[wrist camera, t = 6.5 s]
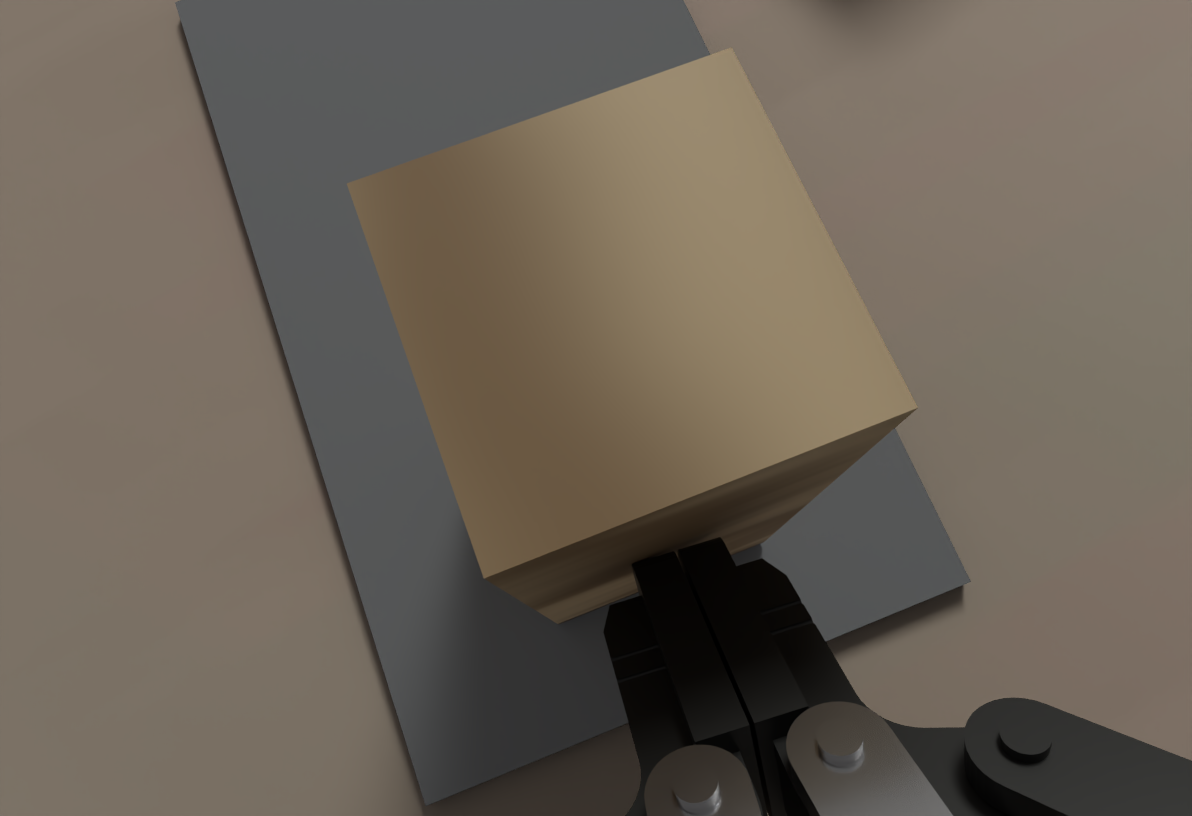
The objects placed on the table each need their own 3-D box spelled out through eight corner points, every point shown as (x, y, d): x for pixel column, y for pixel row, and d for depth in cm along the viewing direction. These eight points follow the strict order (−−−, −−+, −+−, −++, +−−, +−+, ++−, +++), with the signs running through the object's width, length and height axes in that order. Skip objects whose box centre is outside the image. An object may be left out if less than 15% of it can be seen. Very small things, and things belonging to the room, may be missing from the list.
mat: (612, -131, 26) (612, -143, 25) (963, 582, 20) (970, 581, 20) (182, 12, 25) (175, 2, 24) (429, 803, 19) (425, 806, 19)
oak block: (678, 350, 21) (731, 47, 11) (763, 542, 20) (917, 408, 10) (485, 423, 21) (346, 182, 11) (558, 624, 20) (483, 578, 9)
